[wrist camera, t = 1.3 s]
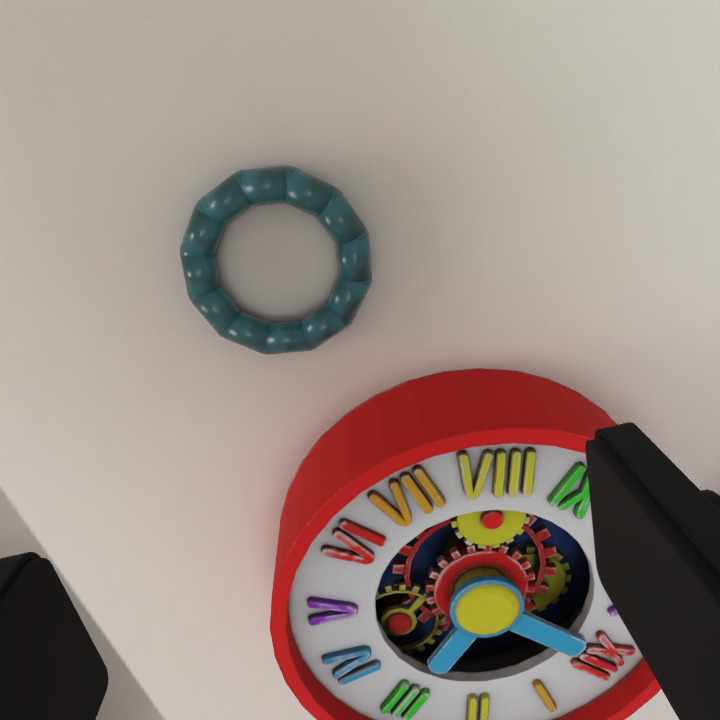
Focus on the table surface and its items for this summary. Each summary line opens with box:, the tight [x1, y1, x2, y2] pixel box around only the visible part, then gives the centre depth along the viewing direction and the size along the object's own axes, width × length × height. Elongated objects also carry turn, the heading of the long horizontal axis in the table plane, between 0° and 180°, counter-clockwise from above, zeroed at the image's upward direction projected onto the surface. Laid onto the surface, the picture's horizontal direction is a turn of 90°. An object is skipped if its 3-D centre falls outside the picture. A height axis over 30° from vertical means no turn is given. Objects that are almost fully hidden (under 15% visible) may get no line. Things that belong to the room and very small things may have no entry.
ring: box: [180, 166, 372, 354], centre depth 26 cm, size 8×8×1 cm
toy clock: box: [270, 369, 661, 720], centre depth 30 cm, size 20×6×20 cm
